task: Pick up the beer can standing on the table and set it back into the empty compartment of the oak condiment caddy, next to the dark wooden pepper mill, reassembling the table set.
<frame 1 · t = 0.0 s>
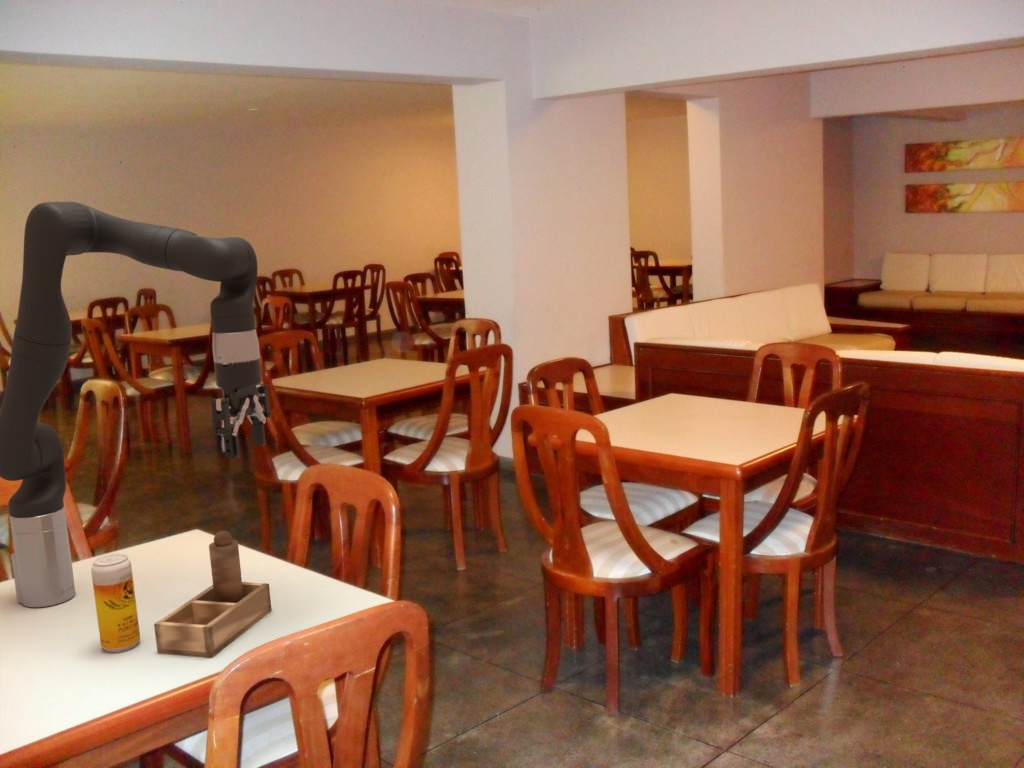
hand: (246, 451, 170), 29 cm above the table, fingers open, 8 cm apart
caddy: (217, 630, 168), on the table
beer can: (121, 646, 164), on the table
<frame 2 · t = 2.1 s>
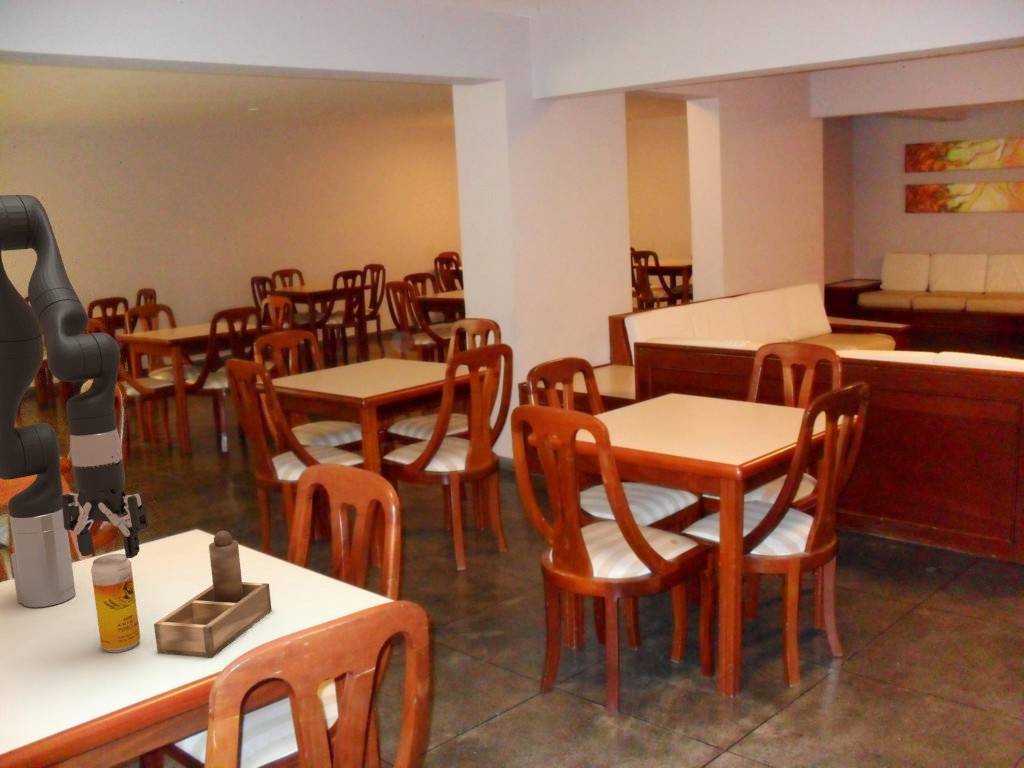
hand: (109, 555, 161), 16 cm above the table, fingers open, 8 cm apart
nothing on the table moved.
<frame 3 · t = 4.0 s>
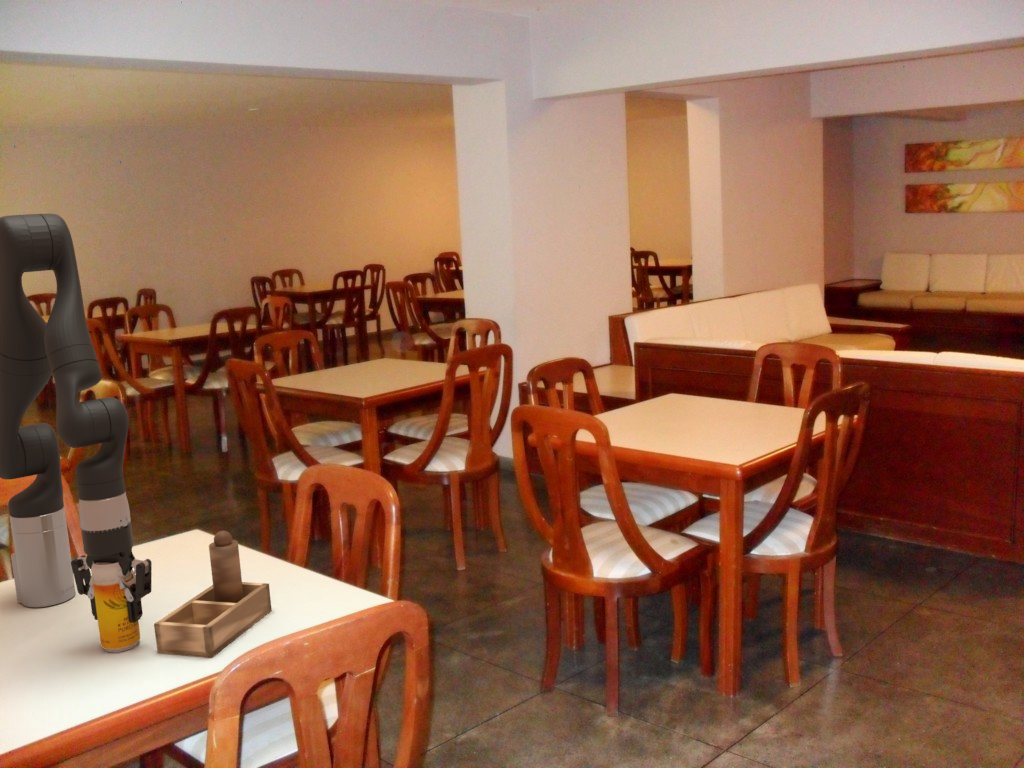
hand: (118, 619, 163), 5 cm above the table, fingers closed on beer can, 6 cm apart
beer can: (121, 646, 164), on the table, touching gripper
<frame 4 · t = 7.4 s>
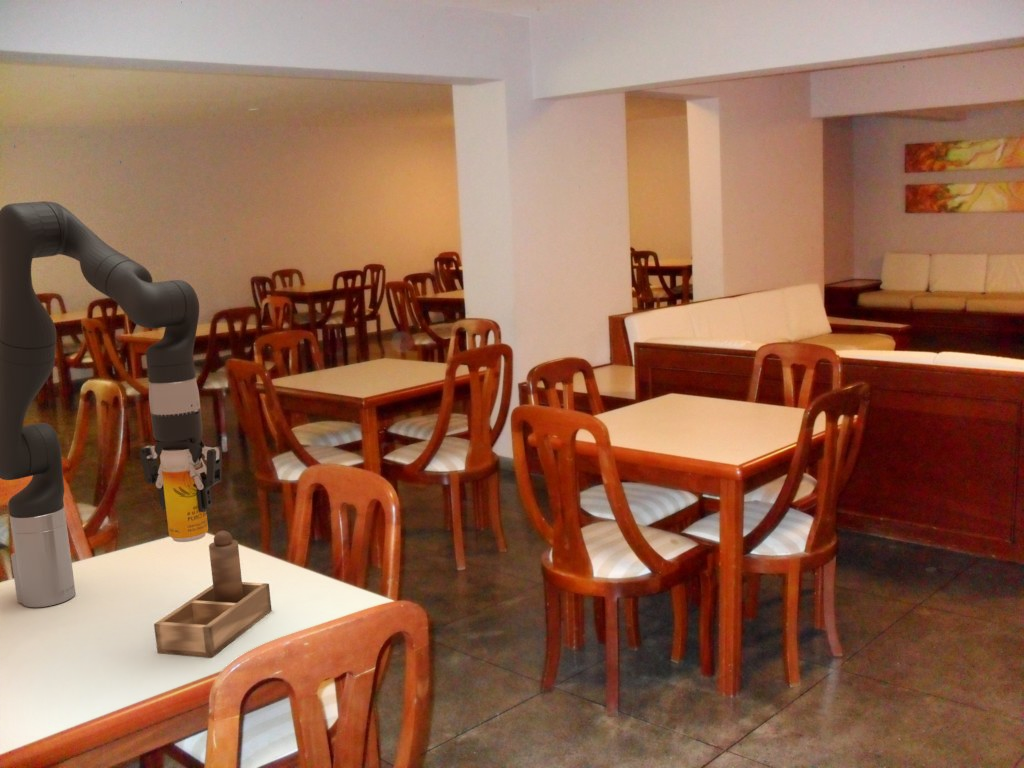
hand: (186, 509, 160), 23 cm above the table, fingers closed on beer can, 6 cm apart
beer can: (189, 538, 161), point 18 cm above the table, touching gripper
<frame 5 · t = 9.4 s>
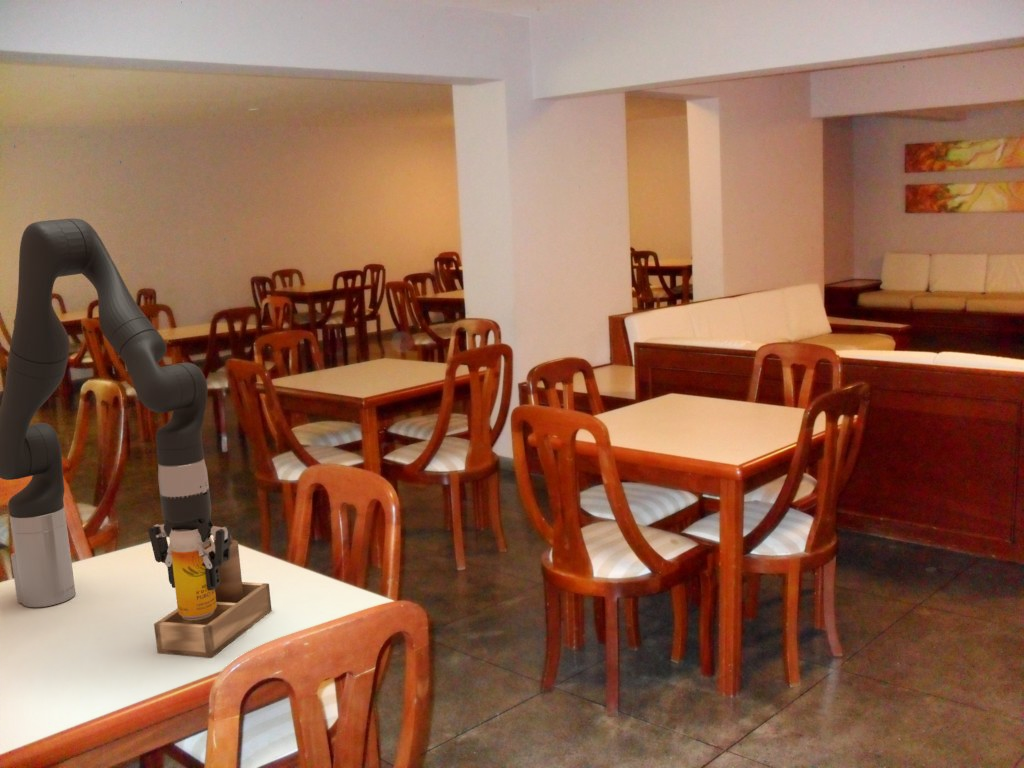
hand: (195, 587, 162), 10 cm above the table, fingers closed on beer can, 6 cm apart
beer can: (198, 615, 163), point 5 cm above the table, touching gripper
when the fingers open (7 cm above the table, at t = 11.0 s): beer can drops 1 cm, resting on caddy.
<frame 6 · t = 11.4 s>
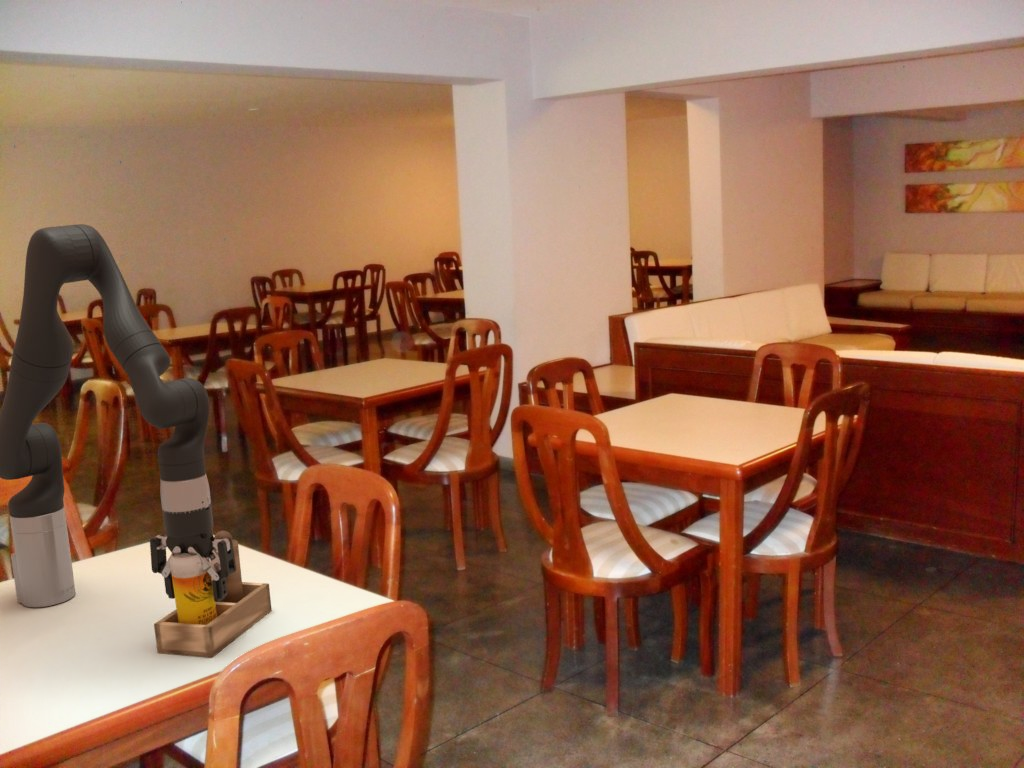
hand: (197, 598, 163), 8 cm above the table, fingers open, 8 cm apart
beer can: (200, 637, 164), point 1 cm above the table, touching caddy
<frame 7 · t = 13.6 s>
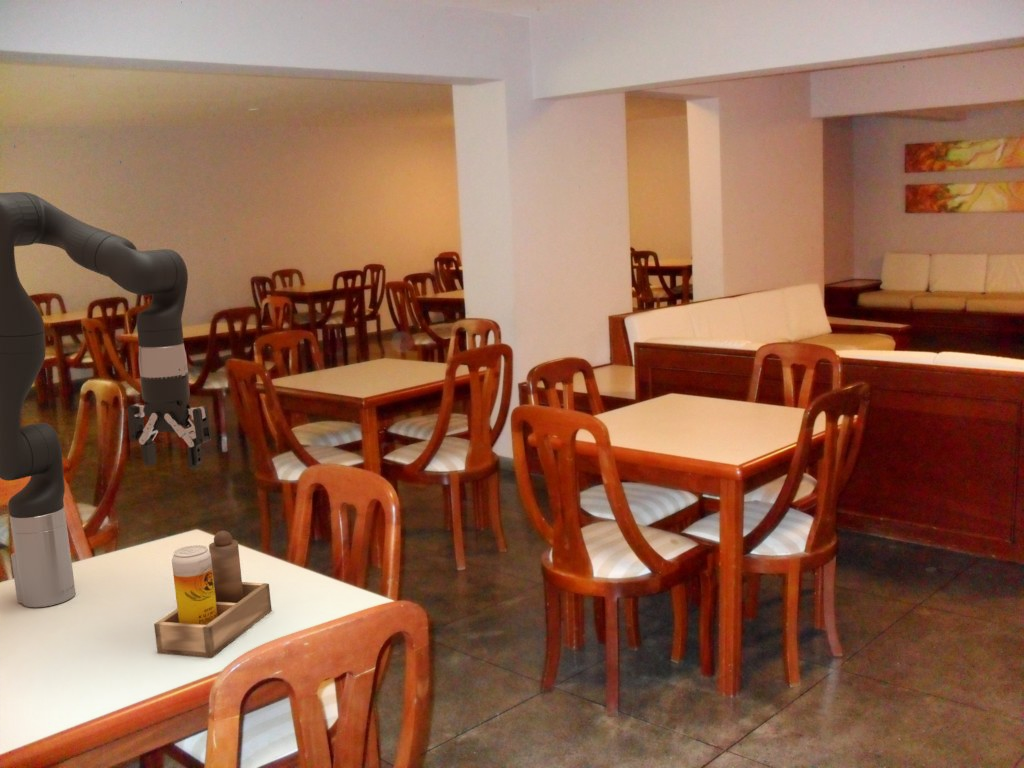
hand: (172, 466, 168), 28 cm above the table, fingers open, 8 cm apart
nothing on the table moved.
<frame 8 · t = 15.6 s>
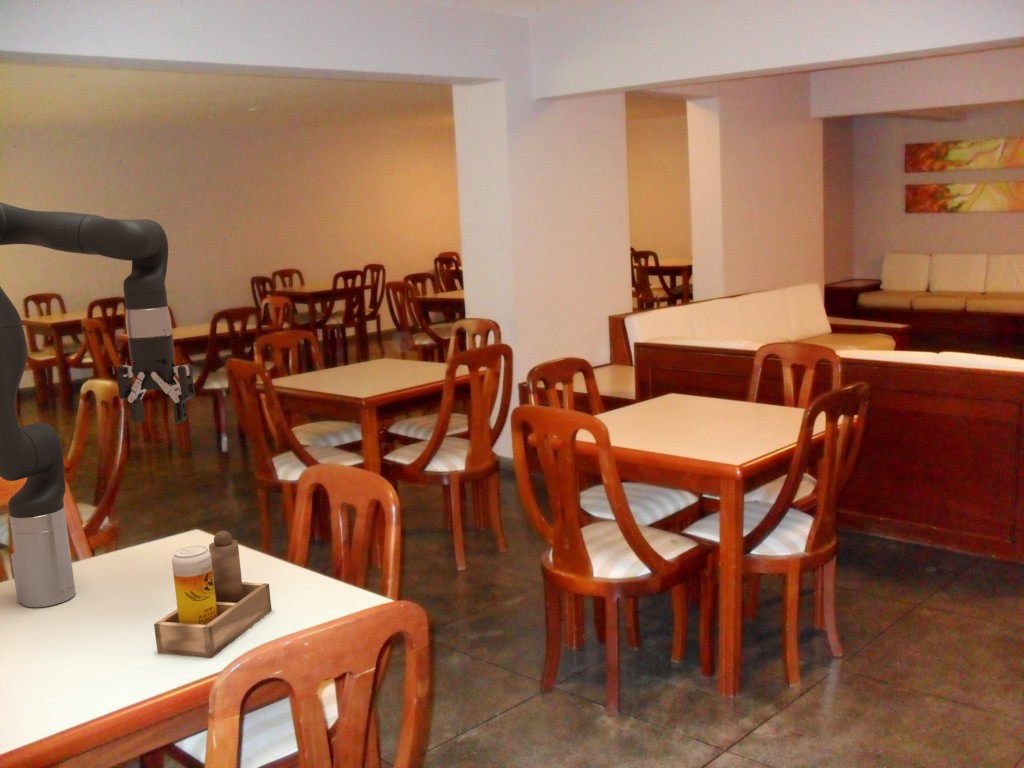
hand: (160, 422, 179), 33 cm above the table, fingers open, 8 cm apart
nothing on the table moved.
at the end: beer can 0.2 cm from the target spot on the caddy, point 0.6 cm above the caddy's base; beer can tilted 0°; the gripper is holding nothing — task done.
